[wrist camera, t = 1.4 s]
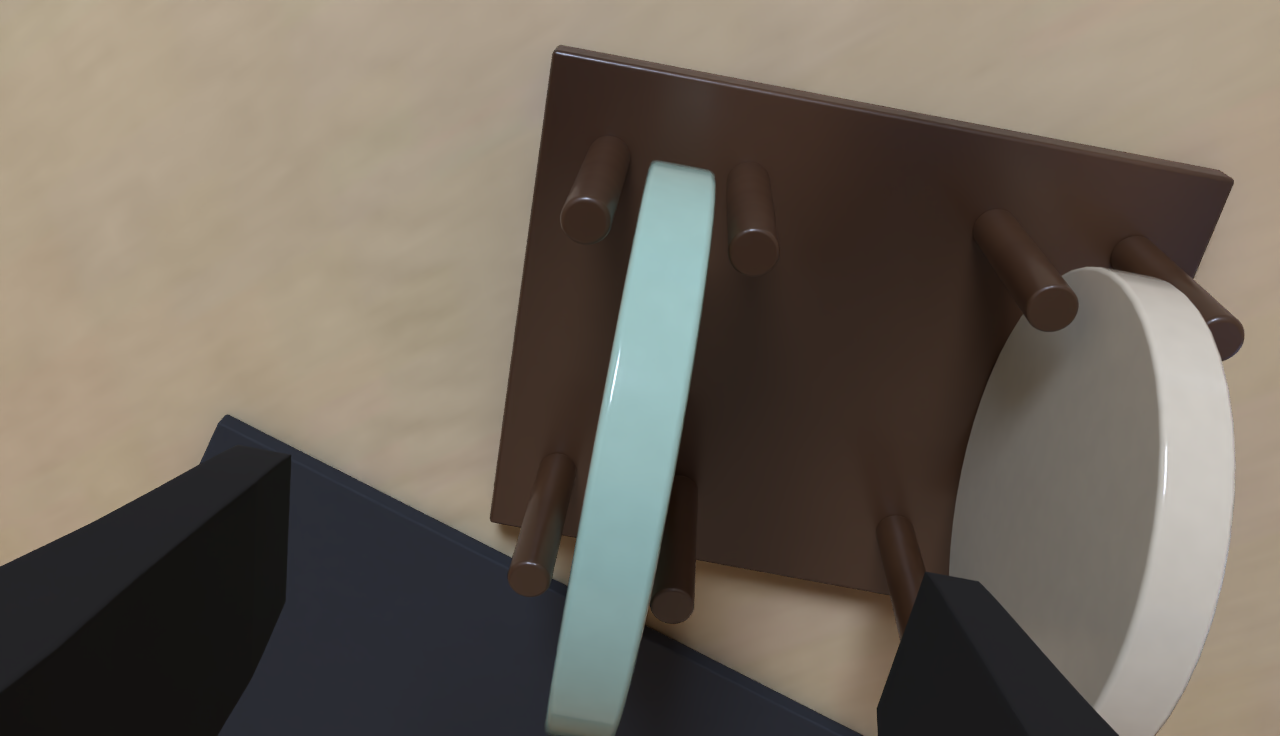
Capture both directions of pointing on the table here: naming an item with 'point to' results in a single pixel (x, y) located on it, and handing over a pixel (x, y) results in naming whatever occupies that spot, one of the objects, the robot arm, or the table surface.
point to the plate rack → (811, 312)
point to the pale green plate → (634, 453)
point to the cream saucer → (1105, 492)
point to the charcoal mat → (446, 634)
